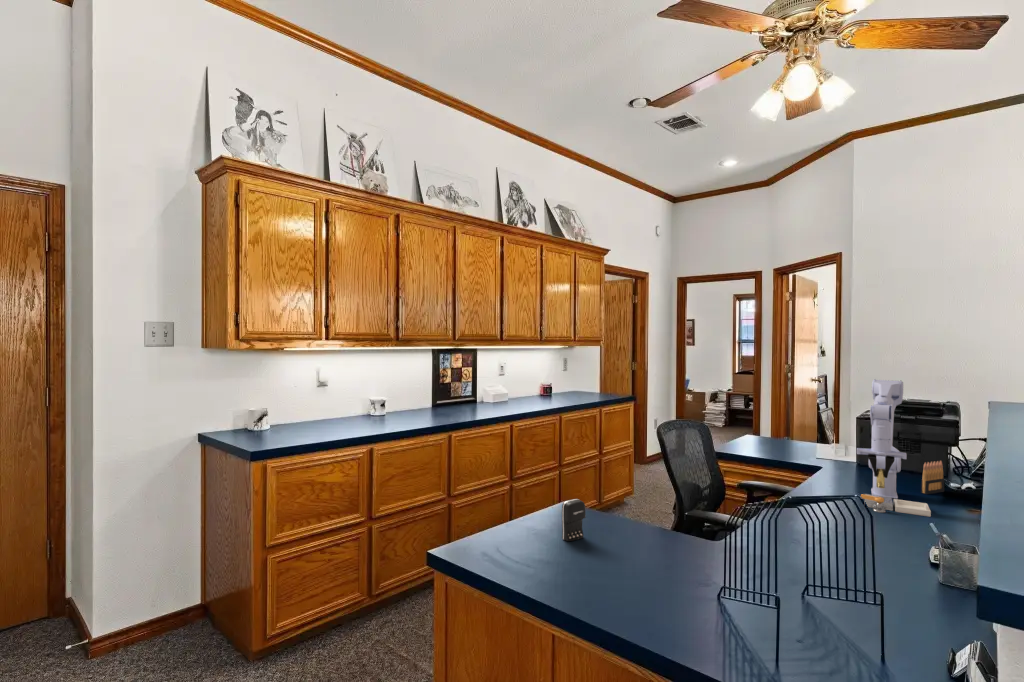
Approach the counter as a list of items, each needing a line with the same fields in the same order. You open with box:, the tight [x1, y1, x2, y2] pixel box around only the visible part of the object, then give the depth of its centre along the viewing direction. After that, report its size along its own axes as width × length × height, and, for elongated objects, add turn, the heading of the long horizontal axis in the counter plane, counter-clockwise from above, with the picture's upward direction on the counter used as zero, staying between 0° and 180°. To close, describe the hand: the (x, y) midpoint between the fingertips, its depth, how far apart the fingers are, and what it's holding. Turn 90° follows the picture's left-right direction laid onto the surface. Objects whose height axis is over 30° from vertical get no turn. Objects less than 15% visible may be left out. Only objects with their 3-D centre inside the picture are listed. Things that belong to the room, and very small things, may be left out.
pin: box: [876, 468, 885, 488], centre depth 191 cm, size 2×2×6 cm
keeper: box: [860, 493, 884, 502], centre depth 187 cm, size 7×3×1 cm, turn 44°
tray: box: [892, 498, 932, 517], centre depth 187 cm, size 10×10×2 cm
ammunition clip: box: [920, 460, 945, 495], centre depth 208 cm, size 11×2×12 cm, turn 110°
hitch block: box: [864, 493, 894, 514], centre depth 190 cm, size 13×8×3 cm, turn 148°
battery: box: [561, 498, 586, 542], centre depth 161 cm, size 7×4×11 cm, turn 123°
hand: (880, 476), depth 191 cm, fingers closed on pin, 2 cm apart
